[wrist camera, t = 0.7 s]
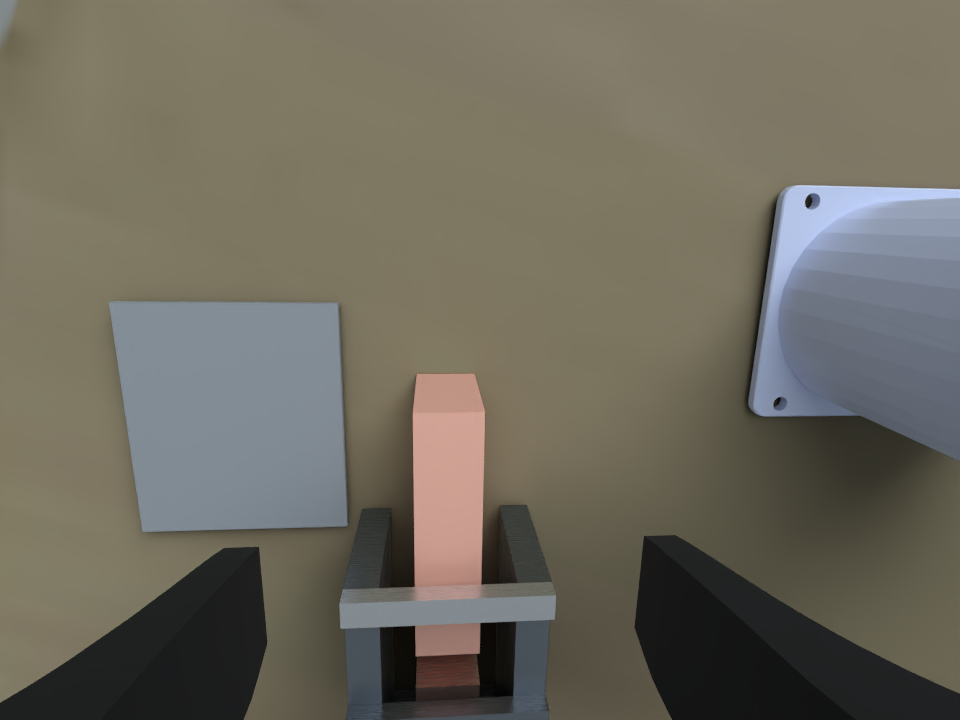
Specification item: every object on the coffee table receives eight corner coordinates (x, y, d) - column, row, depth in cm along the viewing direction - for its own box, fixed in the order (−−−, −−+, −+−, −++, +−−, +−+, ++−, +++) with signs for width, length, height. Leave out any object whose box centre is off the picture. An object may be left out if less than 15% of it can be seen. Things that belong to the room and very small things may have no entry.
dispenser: (526, 504, 20) (556, 595, 16) (517, 703, 23) (541, 837, 18) (362, 509, 20) (339, 603, 15) (369, 711, 22) (351, 852, 17)
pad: (339, 302, 18) (337, 304, 18) (348, 521, 20) (347, 526, 20) (114, 301, 18) (108, 302, 17) (147, 527, 19) (142, 531, 19)
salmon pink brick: (474, 373, 19) (485, 412, 15) (471, 574, 21) (479, 653, 17) (416, 374, 19) (412, 413, 15) (418, 576, 21) (415, 656, 17)
